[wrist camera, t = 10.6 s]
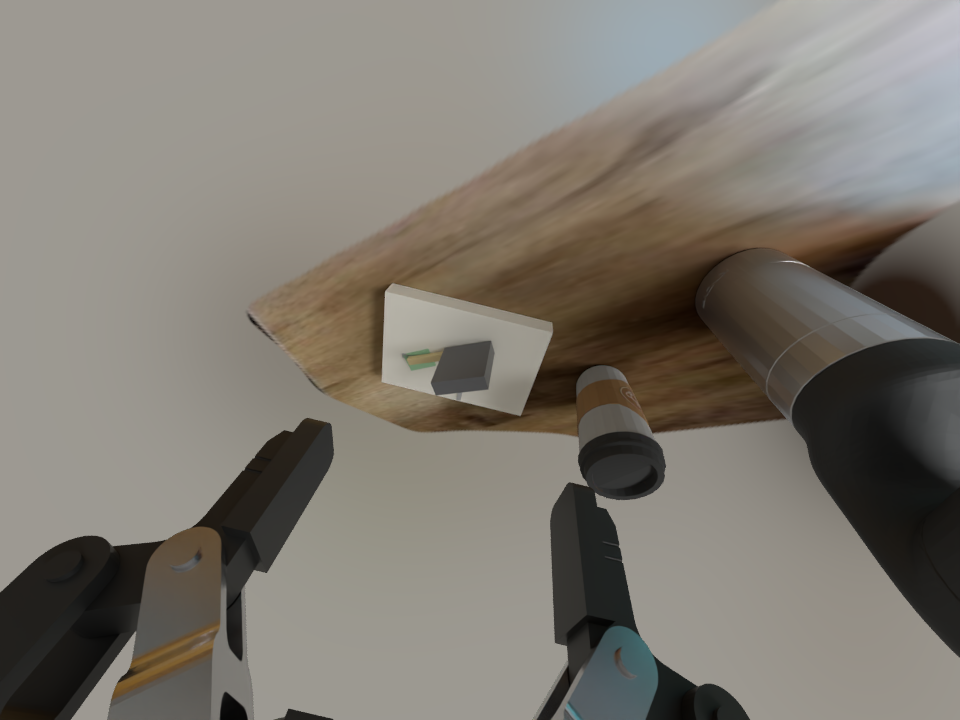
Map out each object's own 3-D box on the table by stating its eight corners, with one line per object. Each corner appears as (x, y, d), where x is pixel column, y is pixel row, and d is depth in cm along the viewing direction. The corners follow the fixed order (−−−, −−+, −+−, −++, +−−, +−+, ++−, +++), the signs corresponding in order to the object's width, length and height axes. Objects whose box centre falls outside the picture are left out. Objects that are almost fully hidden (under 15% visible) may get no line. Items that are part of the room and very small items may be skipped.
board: (552, 322, 41) (553, 333, 39) (521, 403, 49) (520, 417, 47) (392, 283, 41) (384, 292, 39) (388, 371, 49) (381, 383, 47)
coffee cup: (646, 385, 45) (688, 484, 32) (592, 414, 49) (611, 511, 36) (609, 345, 42) (639, 436, 30) (555, 379, 46) (563, 472, 34)
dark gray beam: (494, 353, 41) (488, 389, 36) (412, 364, 44) (394, 400, 38) (491, 340, 40) (484, 376, 35) (407, 353, 43) (388, 388, 37)
